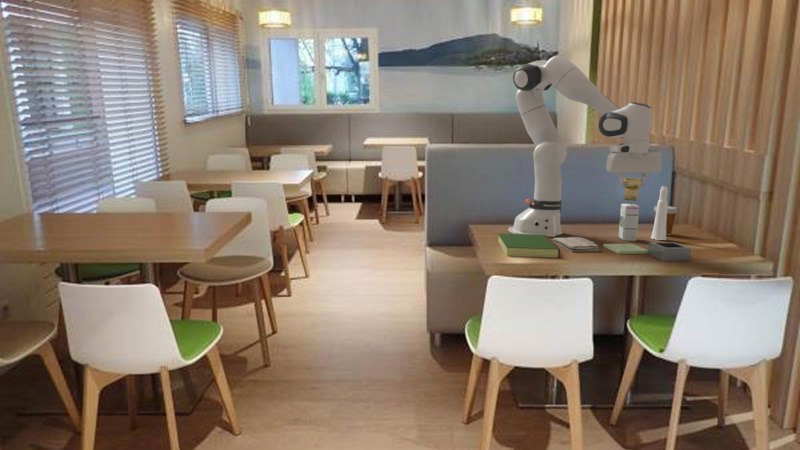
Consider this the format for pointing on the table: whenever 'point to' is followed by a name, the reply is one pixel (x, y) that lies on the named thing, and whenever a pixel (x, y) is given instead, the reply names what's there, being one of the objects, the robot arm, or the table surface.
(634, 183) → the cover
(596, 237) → the table surface
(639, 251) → the pad
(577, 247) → the washcloth
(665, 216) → the cosmetic bottle
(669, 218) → the disposable coffee cup
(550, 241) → the hardcover book
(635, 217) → the syrup box
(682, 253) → the box
